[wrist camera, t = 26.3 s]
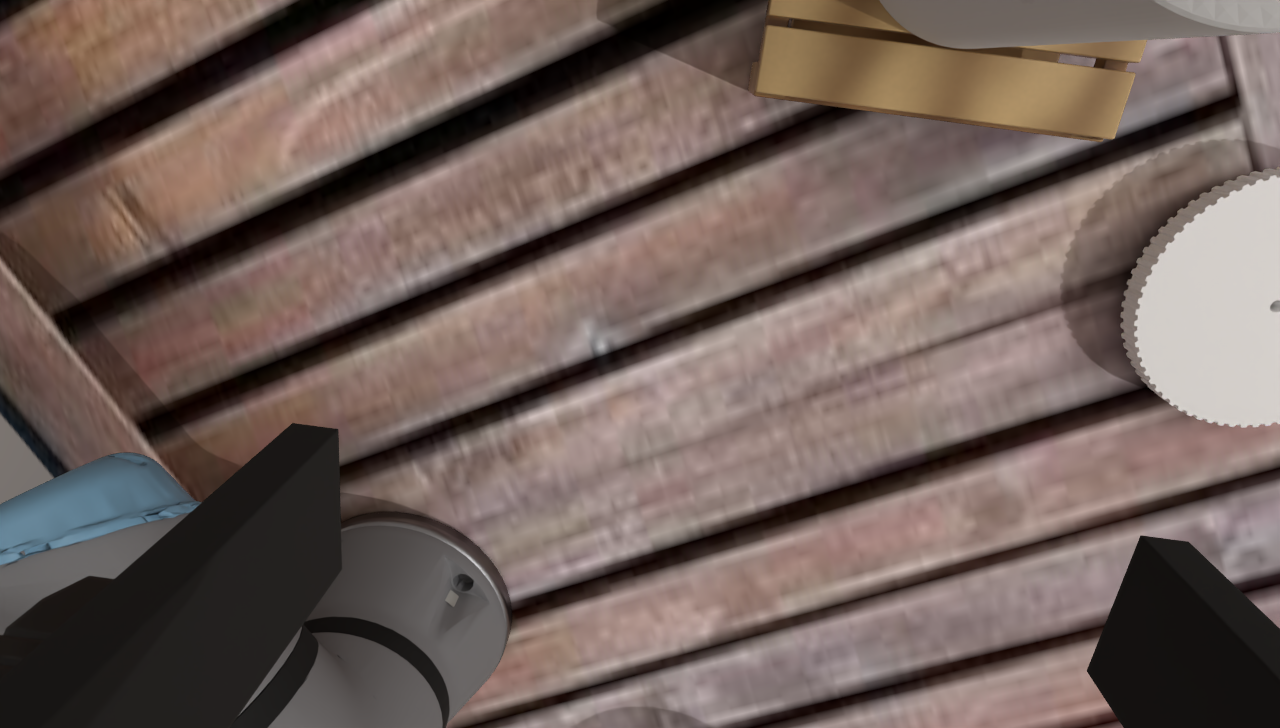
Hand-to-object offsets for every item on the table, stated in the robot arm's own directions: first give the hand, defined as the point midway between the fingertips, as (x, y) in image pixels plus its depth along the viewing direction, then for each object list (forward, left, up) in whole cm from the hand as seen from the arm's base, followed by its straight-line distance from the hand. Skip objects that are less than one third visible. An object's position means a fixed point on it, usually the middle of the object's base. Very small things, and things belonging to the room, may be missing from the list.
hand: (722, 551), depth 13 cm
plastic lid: (+30, -1, -34) cm, 45 cm away
